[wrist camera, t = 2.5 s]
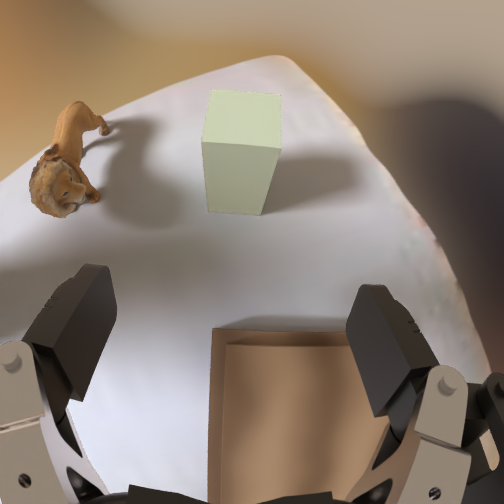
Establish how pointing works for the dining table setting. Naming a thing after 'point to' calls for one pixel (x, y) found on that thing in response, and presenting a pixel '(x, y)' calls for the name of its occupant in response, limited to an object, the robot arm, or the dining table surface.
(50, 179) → the lion figurine
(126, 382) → the dining table surface
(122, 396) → the dining table surface
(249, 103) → the sage block
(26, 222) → the dining table surface
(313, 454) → the walnut plinth
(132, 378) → the dining table surface
